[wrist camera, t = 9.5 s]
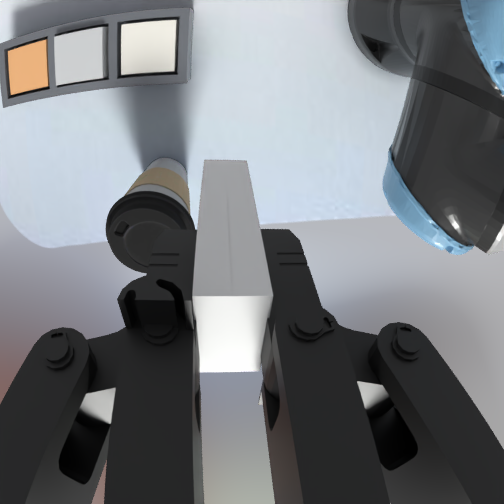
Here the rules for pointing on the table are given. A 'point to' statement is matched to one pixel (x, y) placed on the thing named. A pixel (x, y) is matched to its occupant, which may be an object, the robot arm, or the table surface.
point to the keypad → (114, 55)
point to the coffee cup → (149, 212)
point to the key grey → (81, 55)
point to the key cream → (149, 47)
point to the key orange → (28, 67)
